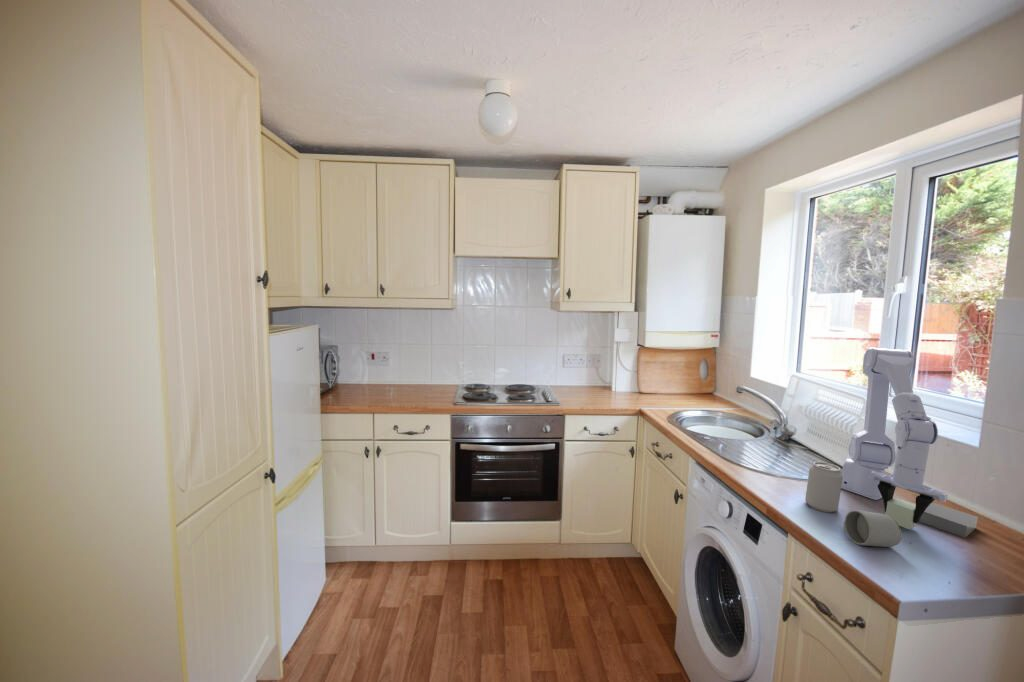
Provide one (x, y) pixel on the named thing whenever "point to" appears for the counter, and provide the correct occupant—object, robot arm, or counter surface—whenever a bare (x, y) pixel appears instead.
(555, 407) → the counter surface
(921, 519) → the stone base
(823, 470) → the can
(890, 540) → the grey cup
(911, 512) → the green block
